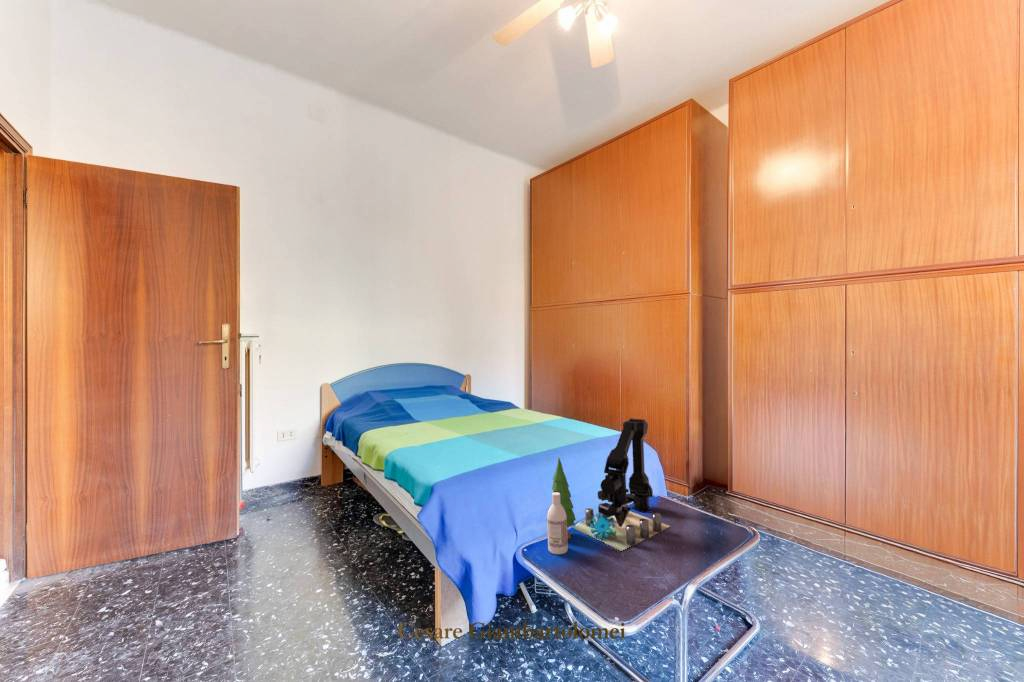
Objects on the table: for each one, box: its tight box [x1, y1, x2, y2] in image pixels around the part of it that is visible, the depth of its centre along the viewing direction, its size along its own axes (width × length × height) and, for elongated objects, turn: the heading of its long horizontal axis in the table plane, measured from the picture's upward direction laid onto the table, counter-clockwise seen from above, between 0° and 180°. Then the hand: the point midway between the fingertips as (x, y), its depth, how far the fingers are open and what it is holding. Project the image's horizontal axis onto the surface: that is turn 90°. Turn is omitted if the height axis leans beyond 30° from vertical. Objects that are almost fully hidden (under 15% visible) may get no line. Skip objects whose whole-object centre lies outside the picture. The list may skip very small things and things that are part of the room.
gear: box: [590, 513, 617, 539], centre depth 150 cm, size 11×6×10 cm
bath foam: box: [546, 491, 569, 555], centre depth 141 cm, size 7×7×20 cm
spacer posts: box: [584, 502, 663, 547], centre depth 155 cm, size 19×23×6 cm
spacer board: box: [571, 510, 671, 552], centre depth 156 cm, size 30×24×1 cm
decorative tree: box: [551, 457, 577, 540], centre depth 151 cm, size 10×9×30 cm
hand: (620, 526), depth 155 cm, fingers closed
